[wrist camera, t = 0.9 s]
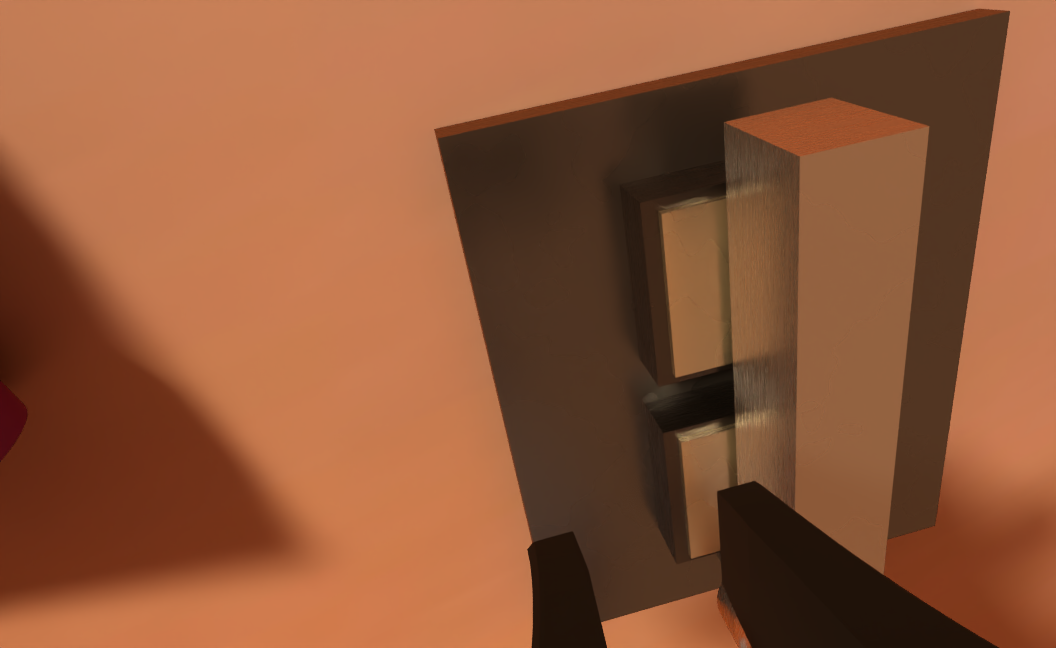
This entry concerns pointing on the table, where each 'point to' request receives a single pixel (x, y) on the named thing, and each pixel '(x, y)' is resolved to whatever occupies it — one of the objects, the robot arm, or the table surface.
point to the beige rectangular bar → (822, 310)
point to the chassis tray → (692, 288)
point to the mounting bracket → (10, 419)
